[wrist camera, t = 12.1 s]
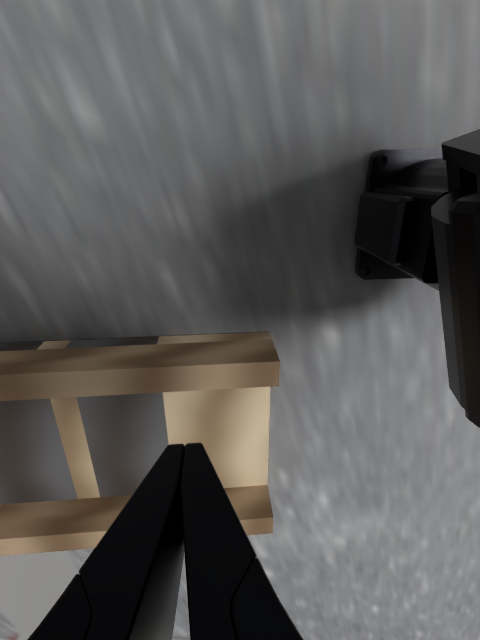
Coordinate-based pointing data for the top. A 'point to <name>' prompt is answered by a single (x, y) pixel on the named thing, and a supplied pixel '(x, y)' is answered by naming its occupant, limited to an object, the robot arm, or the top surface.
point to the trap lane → (126, 428)
